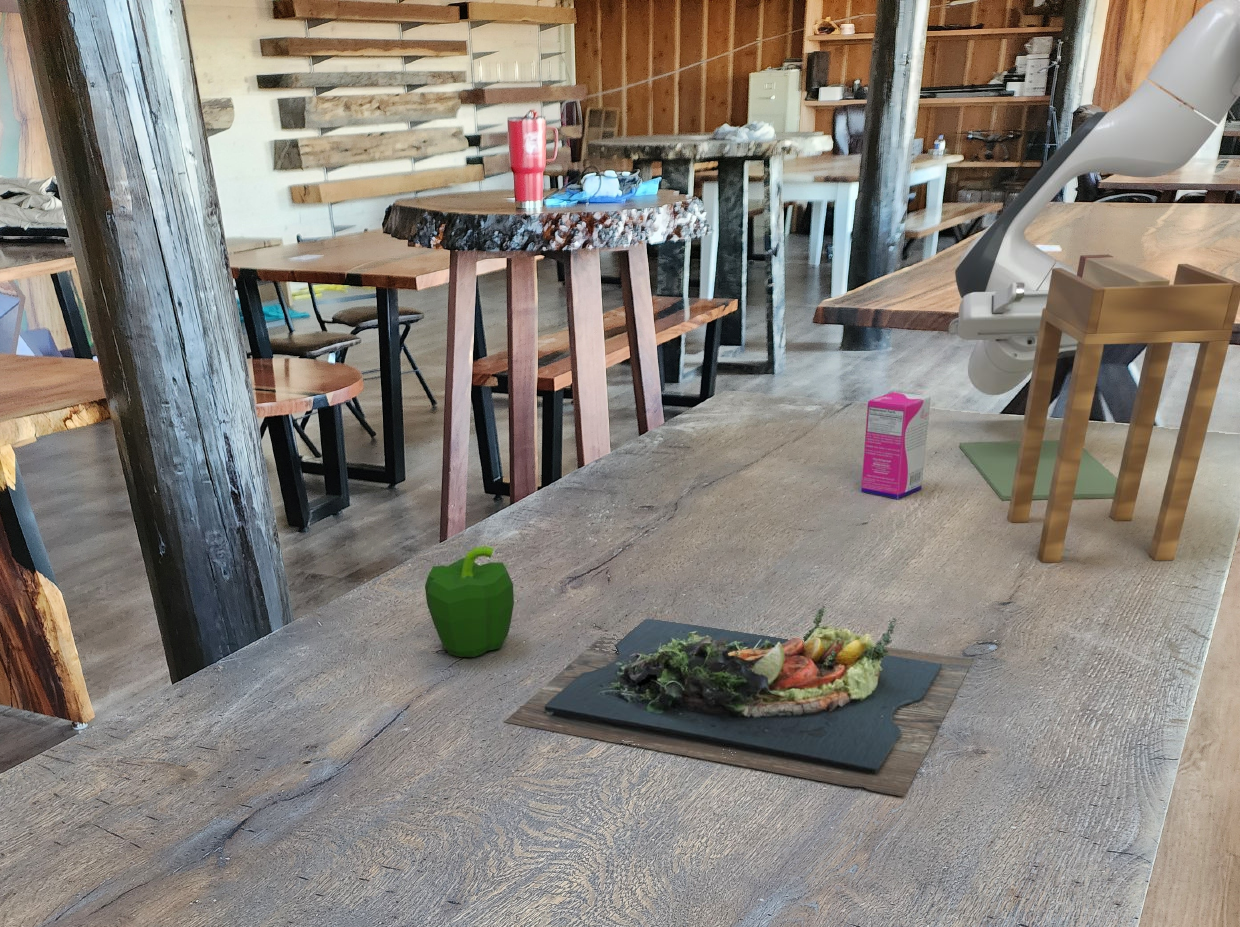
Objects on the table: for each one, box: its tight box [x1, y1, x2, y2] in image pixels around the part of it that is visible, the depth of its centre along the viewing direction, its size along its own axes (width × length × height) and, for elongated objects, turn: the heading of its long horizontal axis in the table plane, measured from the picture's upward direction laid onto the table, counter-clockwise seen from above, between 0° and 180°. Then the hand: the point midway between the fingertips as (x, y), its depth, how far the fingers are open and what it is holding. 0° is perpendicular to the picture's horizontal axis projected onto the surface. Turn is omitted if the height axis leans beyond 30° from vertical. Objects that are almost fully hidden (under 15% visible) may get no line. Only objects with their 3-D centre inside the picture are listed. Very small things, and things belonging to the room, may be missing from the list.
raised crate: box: [1006, 263, 1240, 563], centre depth 127 cm, size 14×16×27 cm
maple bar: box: [1076, 254, 1171, 287], centre depth 126 cm, size 3×20×4 cm, turn 176°
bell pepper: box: [424, 545, 515, 658], centre depth 112 cm, size 8×8×10 cm
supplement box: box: [860, 391, 932, 500], centre depth 149 cm, size 6×6×12 cm
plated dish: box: [503, 604, 974, 798], centre depth 103 cm, size 35×28×7 cm
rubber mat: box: [959, 439, 1118, 501], centre depth 157 cm, size 16×26×1 cm, turn 176°
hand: (1057, 287), depth 145 cm, fingers open, 8 cm apart
